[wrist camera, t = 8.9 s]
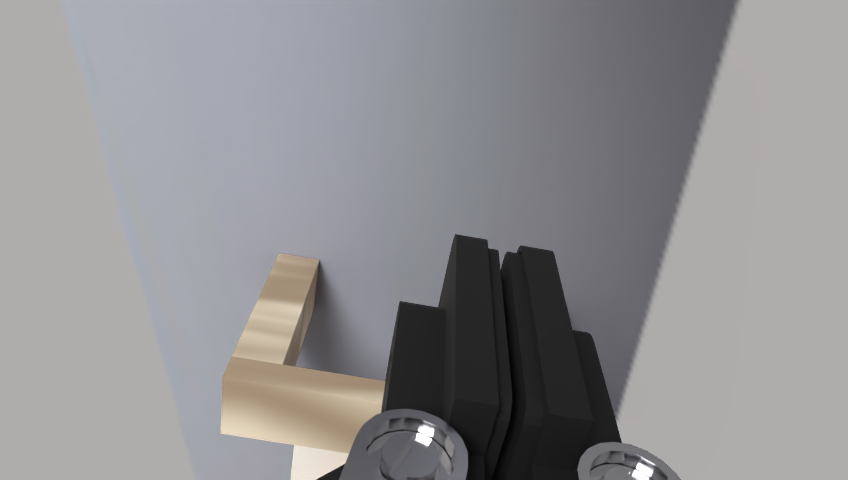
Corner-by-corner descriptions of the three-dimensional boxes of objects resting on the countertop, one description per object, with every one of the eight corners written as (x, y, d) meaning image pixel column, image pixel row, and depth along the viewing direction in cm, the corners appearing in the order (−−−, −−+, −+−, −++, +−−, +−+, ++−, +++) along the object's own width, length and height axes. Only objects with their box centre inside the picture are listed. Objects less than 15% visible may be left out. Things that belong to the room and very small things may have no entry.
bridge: (279, 253, 33) (222, 376, 25) (564, 301, 34) (596, 436, 26) (275, 302, 35) (220, 433, 27) (548, 347, 36) (574, 489, 28)
